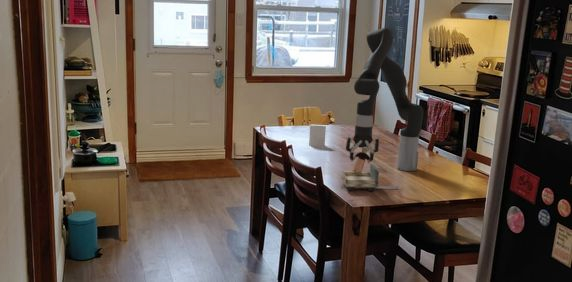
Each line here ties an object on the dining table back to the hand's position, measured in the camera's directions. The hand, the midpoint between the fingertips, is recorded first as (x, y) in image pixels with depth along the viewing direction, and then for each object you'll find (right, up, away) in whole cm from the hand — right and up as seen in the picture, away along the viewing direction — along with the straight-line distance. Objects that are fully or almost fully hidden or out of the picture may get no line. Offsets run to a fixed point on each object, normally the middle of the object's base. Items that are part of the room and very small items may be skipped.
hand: (361, 160), depth 259 cm
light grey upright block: (-16, +6, +77) cm, 79 cm away
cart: (-1, -12, +3) cm, 12 cm away
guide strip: (+4, -12, +3) cm, 13 cm away
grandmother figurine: (-2, -5, +1) cm, 6 cm away
